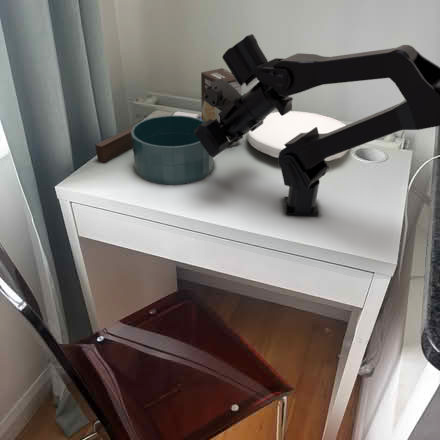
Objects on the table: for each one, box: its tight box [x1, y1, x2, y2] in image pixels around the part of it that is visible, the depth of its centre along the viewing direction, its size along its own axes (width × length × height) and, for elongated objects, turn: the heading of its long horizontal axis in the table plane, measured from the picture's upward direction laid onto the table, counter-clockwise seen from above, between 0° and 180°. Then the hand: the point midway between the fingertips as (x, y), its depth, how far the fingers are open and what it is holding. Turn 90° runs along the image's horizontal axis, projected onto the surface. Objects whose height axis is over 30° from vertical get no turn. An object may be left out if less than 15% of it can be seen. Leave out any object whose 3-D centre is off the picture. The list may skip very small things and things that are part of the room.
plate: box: [245, 110, 349, 162], centre depth 114 cm, size 28×6×27 cm
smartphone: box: [171, 110, 200, 119], centre depth 125 cm, size 7×1×15 cm
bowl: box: [131, 114, 214, 185], centre depth 103 cm, size 18×18×8 cm
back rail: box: [95, 125, 135, 164], centre depth 111 cm, size 2×16×4 cm, turn 148°
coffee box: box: [200, 67, 243, 147], centre depth 112 cm, size 9×6×16 cm
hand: (206, 147), depth 98 cm, fingers closed, pressing on bowl
